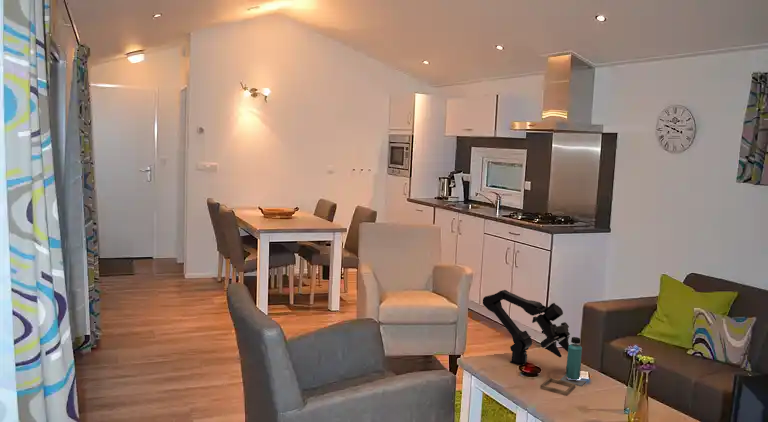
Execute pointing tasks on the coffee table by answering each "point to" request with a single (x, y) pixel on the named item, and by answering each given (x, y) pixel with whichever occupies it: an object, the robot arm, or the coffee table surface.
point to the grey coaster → (573, 381)
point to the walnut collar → (571, 385)
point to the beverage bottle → (574, 359)
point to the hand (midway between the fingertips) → (565, 354)
